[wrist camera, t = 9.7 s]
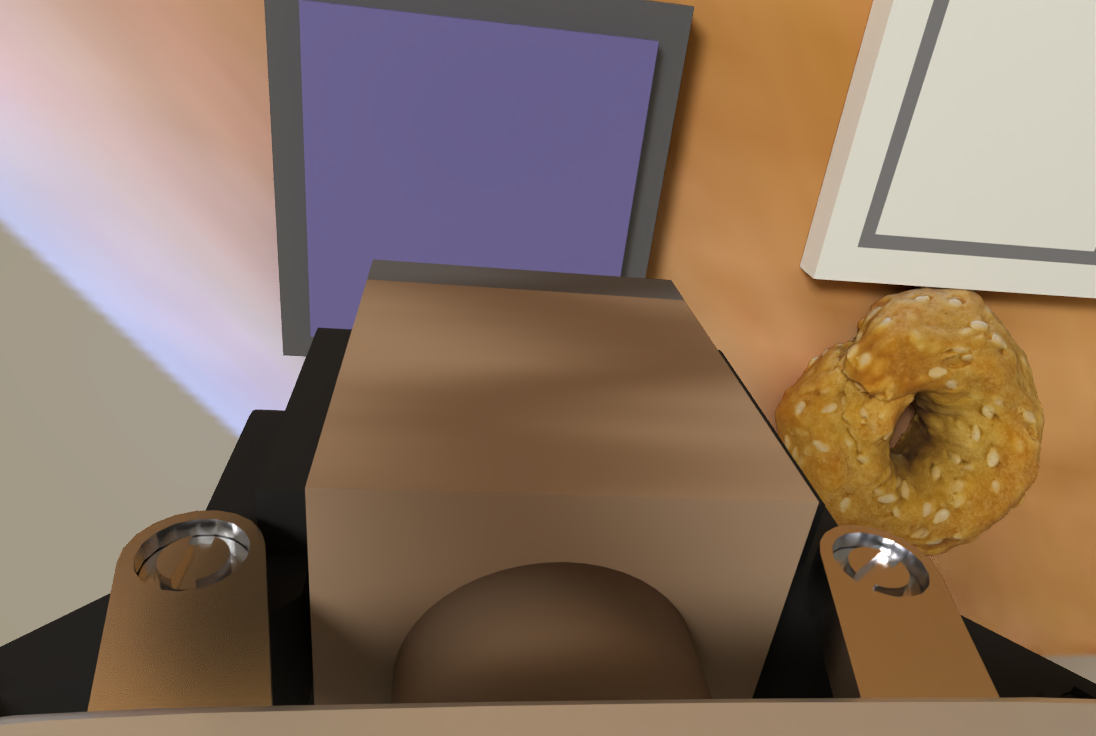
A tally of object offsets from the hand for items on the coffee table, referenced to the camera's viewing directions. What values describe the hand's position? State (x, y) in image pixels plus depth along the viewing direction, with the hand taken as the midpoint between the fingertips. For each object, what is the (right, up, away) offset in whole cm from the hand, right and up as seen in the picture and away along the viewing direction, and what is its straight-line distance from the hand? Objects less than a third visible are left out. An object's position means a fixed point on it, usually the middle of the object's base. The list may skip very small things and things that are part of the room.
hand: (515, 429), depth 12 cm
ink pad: (-2, +7, +13) cm, 15 cm away
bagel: (+14, 0, +20) cm, 24 cm away
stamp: (0, 0, +1) cm, 1 cm away
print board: (+16, +10, +14) cm, 24 cm away
